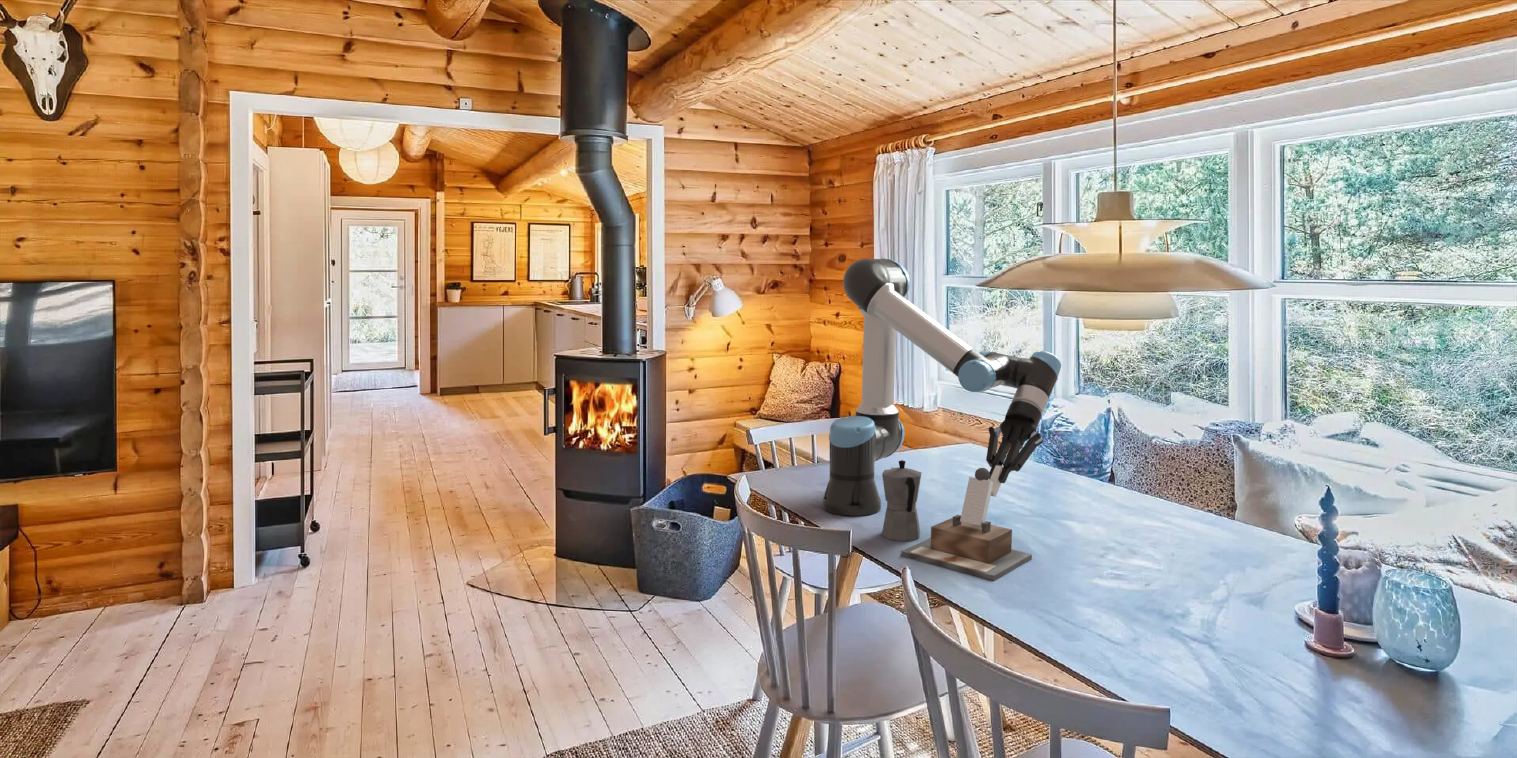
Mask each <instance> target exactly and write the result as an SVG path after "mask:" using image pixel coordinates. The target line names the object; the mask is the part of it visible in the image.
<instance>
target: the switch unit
mask: <svg viewBox="0 0 1517 758" xmlns="http://www.w3.org/2000/svg"><path fill="white" fill-rule="evenodd" d="M960 518H961V515H959V514H956V515H954V516H952V517H951V518H949V519H946V520H944V521H941V522H939V523H937V524H935V525H933V526H930V538H927V539H925V540H923V541H921V542H918V543H917V544H914V545H912V546H909V547H907V548H905V549H902V550H901V551H900V556H902V557H906V558H909V559H913V560H916V561H920V562H922V563H923V562H924V563H928V564H932V565H935V566H938V567H943V568H945V569H951V570H953V569H954V571H956V570H957V572H961V573H964V574H967V573H968V575H972V576H975V577H979V578H983V579H986V580H989V581H993V580H994V581H996V580H997V579H999V578H1001V577H1003V576H1004V575H1006V574H1008V573H1010V572H1012V571H1013V570H1014V569H1016V568H1018V567H1020V566H1022V565H1023V564H1025V563H1027V562H1029V561H1030V560H1032V559H1033V558H1032V557H1033V554H1032V553H1029V552H1025V551H1021V550H1020V551H1019V550H1017V549H1013V548H1012V545H1013V543H1012V542H1013V541H1012V539H1013V529H1011V528H1007V527H1003V526H999V525H998V526H997V525H993V524H991V523H992V522H991V521H989V520H985V522H983V523H982V527H981V526H977V525H972V524H968V523H964V522H960Z"/></svg>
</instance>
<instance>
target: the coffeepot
mask: <svg viewBox="0 0 1517 758" xmlns="http://www.w3.org/2000/svg"><path fill="white" fill-rule="evenodd" d="M898 466H899V467H891V468H890V469H884V470H883V471H882V473H881V474H882V475H881V476H882V481H883V482H882V483H883V491H884V497H885V501H886V503H887V504H886V510H885V515H884V520H883V526H882V529H881V530H882V532H881V536H883V537H884V538H885V539H888V540H891V541H894V542H911V541H915V540H918V539H919V538H920V536H921V529H920V528H921V527H920V522H919V514H918V509H917V501H918V497H919V492H920V486H921V478H922V471H918V470H915V469H913V468H907V467H905V466H906V460H903V459H901V460H899V461H898Z"/></svg>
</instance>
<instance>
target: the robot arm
mask: <svg viewBox="0 0 1517 758" xmlns="http://www.w3.org/2000/svg"><path fill="white" fill-rule="evenodd" d="M910 280H911V279H910V275H909V272H908V270H907V269H906V268H905V266H903V265H902V264H901V263H900V262H898V261H896V260H893V259H890V258H861V259H858V260H856V261H854V262H853V263H851V264H850V265H849V266H848V267H847V268H846V271H845V273H844V275H843V279H842V286H843V290H844V293H845V294H846V296H847V298H848V299H849V300H850V301H851V302H852V303H853V304H855V306H856V307H858V311H859V312H860V313H861V314H862V315H863V335H862V337H863V338H862V341H863V343H862V373H861V375H862V376H861V378H862V379H861V383H862V384H861V403H860V404H859V406H857V407H856V409H855V415H850V416H848V417H846V416H844V417H841V418H838V419H836V420H834V421H833V422H832V423H831V425H830V427H829V434H828V435H829V436H828V440H829V479H828V483H827V485H826V489H825V491H824V495H823V498H822V508H823V510H824V511H826V512H828V513H831V514H835V515H840V516H850V517H853V516H854V517H855V516H856V517H857V516H867V515H872V514H876V513H878V512H880V511H881V509H882V499H881V497H880V494H879V491H878V487H877V484H876V480H875V463H876V462H877V461H880V460H882V459H886V458H888V457H891V456H892V455H893V454H895V453H896V452H897V451H899V449H900V448H901V446H902V444H903V443H904V440H905V436H906V435H905V427H904V425H903V422H901V420H900V418H899V417H900V416H899V412H900V411H899V409H898V408H897V407H896V406H895V405H894V399H895V397H894V396H895V395H894V394H895V393H894V391H895V369H896V367H895V364H896V361H895V360H896V331H897V333H899V334H901V335H902V336H903V337H904V338H906V339H907V340H908V341H910V342H911V343H912V344H914V345H916V347H918V348H919V349H920V350H922V351H923V352H924V353H926V354H927V355H928V356H929V357H930V358H931V359H934V360H935V361H936V362H937V363H939V364H940V365H941V366H943V367H944V368H946V369H947V370H948V371H950V372H951V373H952V374H953V375H955V376H956V377H957V378H958V382H959V384H960V386H961V387H962V388H963V389H964V390H966V391H968V392H970V393H980V392H981V393H983V392H987V391H989V390H990V389H992V388H995V387H999V386H1003V387H1009V388H1014V389H1016V391H1015V393H1014V395H1013V397H1012V399H1011V402H1010V404H1009V406H1008V408H1007V410H1006V411H1007V412H1006V413H1005V415H1004V417H1005V418H1004V420H1003V421H1002V422H1001V423H1000V425H999V426H997V427H995V428H994V427H993V426H989V427H988V428H987V429H988V432H989V438H988V439H989V440H988V445H987V452H986V457H985V461H986V463H987V464H988V466H989V467H990V470H989V473H990V478H989V479H988V480H989V481H992V482H993V487H992V491H991V496H990V497H995V498H996V496H997V495H998V492H999V489H1000V488H1001V486H1002V484H1005V483H1006V482H1007V479H1008V477H1009V476H1010V475H1009V474H1010V473H1011V472H1014V471H1015V472H1020V470H1021V469H1022V468H1023V466H1024V465H1025V463H1026V462H1027V461H1028V459H1030V457H1031V455H1032V454H1033V453H1034V452H1035V450H1036V449H1037V447H1039V446H1040V445H1041V444H1043V443H1044V438H1043V437H1042V435H1041V433H1039V432H1037V428H1038V426H1039V423H1040V421H1041V419H1042V415H1043V414H1044V411H1045V409H1046V407H1047V404H1048V402H1049V399H1050V396H1051V394H1052V392H1053V389H1054V387H1055V385H1056V383H1057V381H1058V379H1059V378H1058V377H1059V374H1060V372H1061V368H1062V362H1061V361H1060V359H1059V357H1057V356H1056V355H1055V354H1053V353H1051V352H1049V351H1045V350H1040V351H1035V352H1033V353H1032V354H1031V356H1030V357H1029V358H1025V357H1019V356H1018V357H1017V356H1013V355H1008V354H1004V353H997V352H996V351H987V350H982V351H977V350H976V349H974V348H973V347H972V346H971V345H969V344H968V343H967V342H965V341H964V340H962V339H961V338H960V337H958V336H957V335H955V334H954V333H953V332H952V331H950V330H949V329H948V328H946V326H943V325H942V324H941V323H940V322H938V321H937V320H936V319H934V318H933V317H931V316H930V315H928V314H927V313H926V312H924V311H923V310H922V309H920V308H919V307H918V306H917V305H915V304H913V303H912V302H911V301H910V300H909V299H907V298H906V295H907V294H908V292H909V290H910V287H911V281H910ZM1001 434H1002V437H1001V442H1000V443H999V438H1000V436H1001ZM1025 442H1026V443H1025ZM998 445H999V447H998Z"/></svg>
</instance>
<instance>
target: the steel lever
mask: <svg viewBox="0 0 1517 758" xmlns="http://www.w3.org/2000/svg"><path fill="white" fill-rule="evenodd" d="M989 472H990V470H988V469H987V468H986V467H979V468H977V469H976V470H975V473H974V477H972V476H969V478H968V482H967V485H966V487H967V488H966V491H965V496H964V501H963V505H962V510H961V518H960V522H964V523H968V524H972V525H977V526H981V527H982V523H983V522H985V521H987V520H986V518H987V514H988V510H989V504H990V500H991V497H992V496H991V491H992V487H993V482H992V481H989V478H990V473H989Z"/></svg>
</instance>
